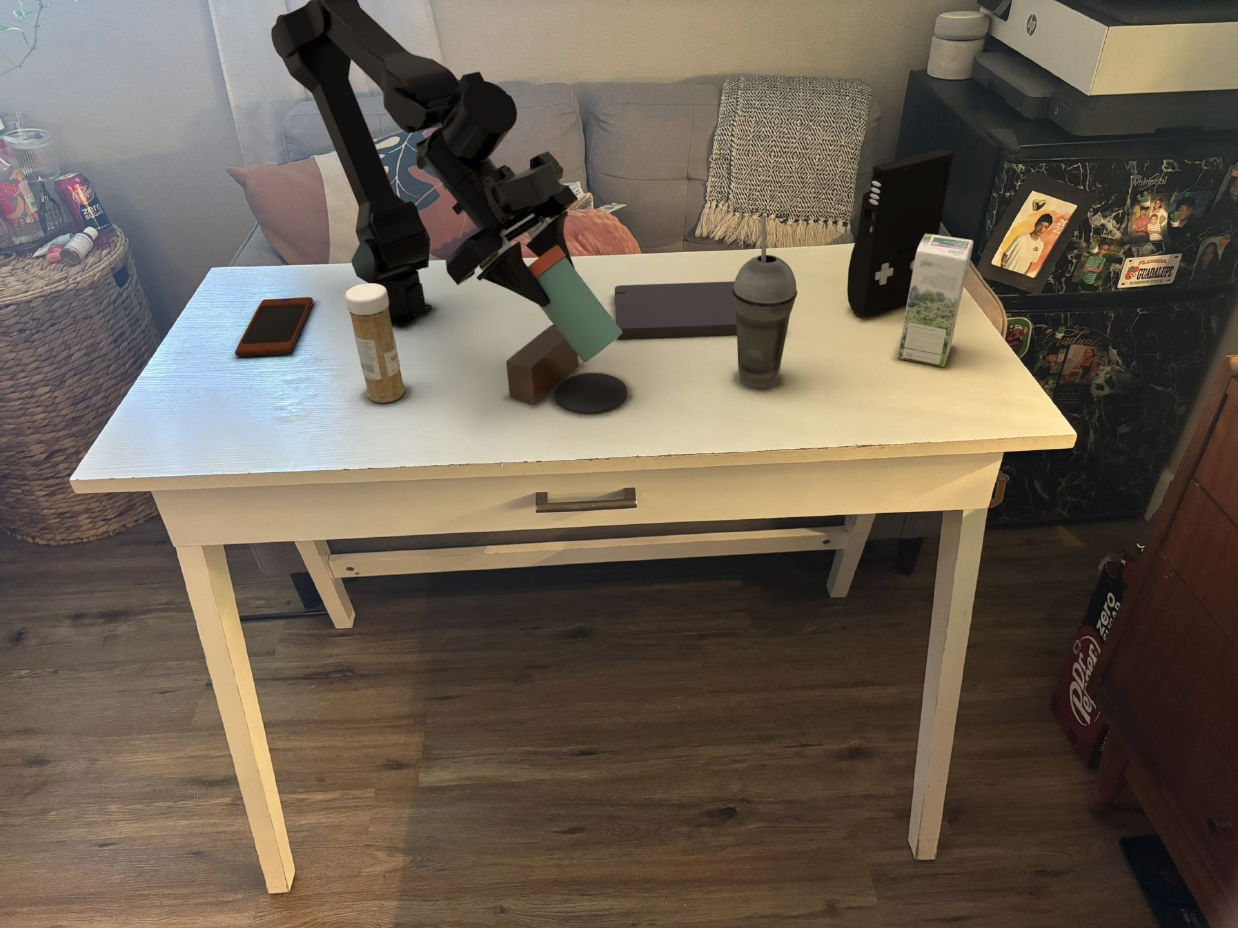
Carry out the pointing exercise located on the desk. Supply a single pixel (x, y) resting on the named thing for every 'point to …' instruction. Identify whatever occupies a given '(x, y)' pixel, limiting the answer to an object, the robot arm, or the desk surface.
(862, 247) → the handheld gaming console
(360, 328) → the sprinkles bottle
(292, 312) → the smartphone
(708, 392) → the desk surface
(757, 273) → the beverage cup
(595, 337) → the container
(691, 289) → the notebook
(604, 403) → the coaster
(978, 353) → the desk surface
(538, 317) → the desk surface
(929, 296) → the syrup box
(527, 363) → the block
